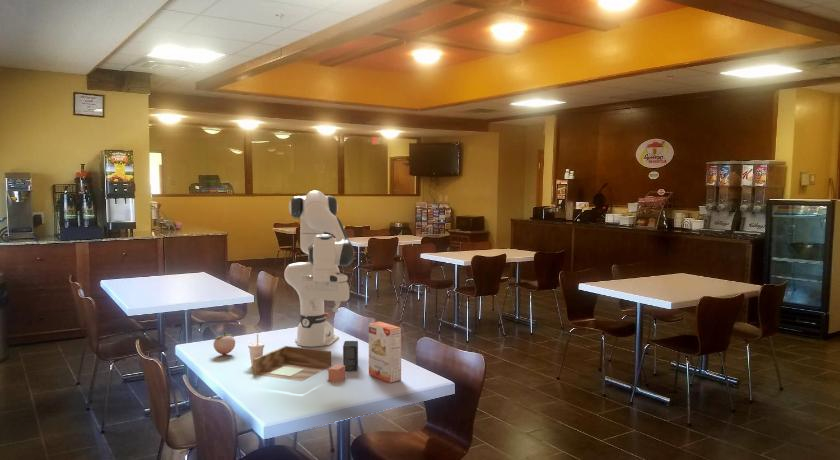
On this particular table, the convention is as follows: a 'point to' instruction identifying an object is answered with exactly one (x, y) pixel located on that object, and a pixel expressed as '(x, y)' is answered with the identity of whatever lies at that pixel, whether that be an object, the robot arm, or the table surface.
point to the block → (336, 373)
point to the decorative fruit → (224, 344)
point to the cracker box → (385, 351)
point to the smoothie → (255, 350)
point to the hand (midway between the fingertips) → (324, 311)
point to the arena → (292, 362)
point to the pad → (286, 371)
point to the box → (350, 355)
